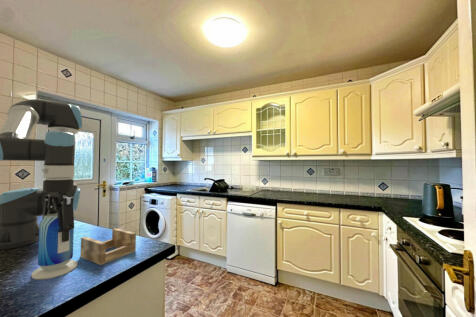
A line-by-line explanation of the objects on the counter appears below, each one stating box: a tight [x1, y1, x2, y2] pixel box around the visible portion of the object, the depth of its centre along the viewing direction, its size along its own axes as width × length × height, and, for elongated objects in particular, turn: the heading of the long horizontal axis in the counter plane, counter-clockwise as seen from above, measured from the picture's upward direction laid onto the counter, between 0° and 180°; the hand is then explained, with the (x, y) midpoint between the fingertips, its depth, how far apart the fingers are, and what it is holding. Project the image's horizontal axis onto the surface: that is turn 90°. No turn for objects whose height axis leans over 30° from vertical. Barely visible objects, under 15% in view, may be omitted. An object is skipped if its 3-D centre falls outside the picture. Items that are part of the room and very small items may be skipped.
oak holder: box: [80, 227, 137, 266], centre depth 77 cm, size 13×13×7 cm
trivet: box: [31, 259, 79, 281], centre depth 65 cm, size 11×11×1 cm
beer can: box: [37, 213, 75, 269], centre depth 65 cm, size 8×8×16 cm
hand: (56, 248), depth 65 cm, fingers closed on beer can, 8 cm apart
